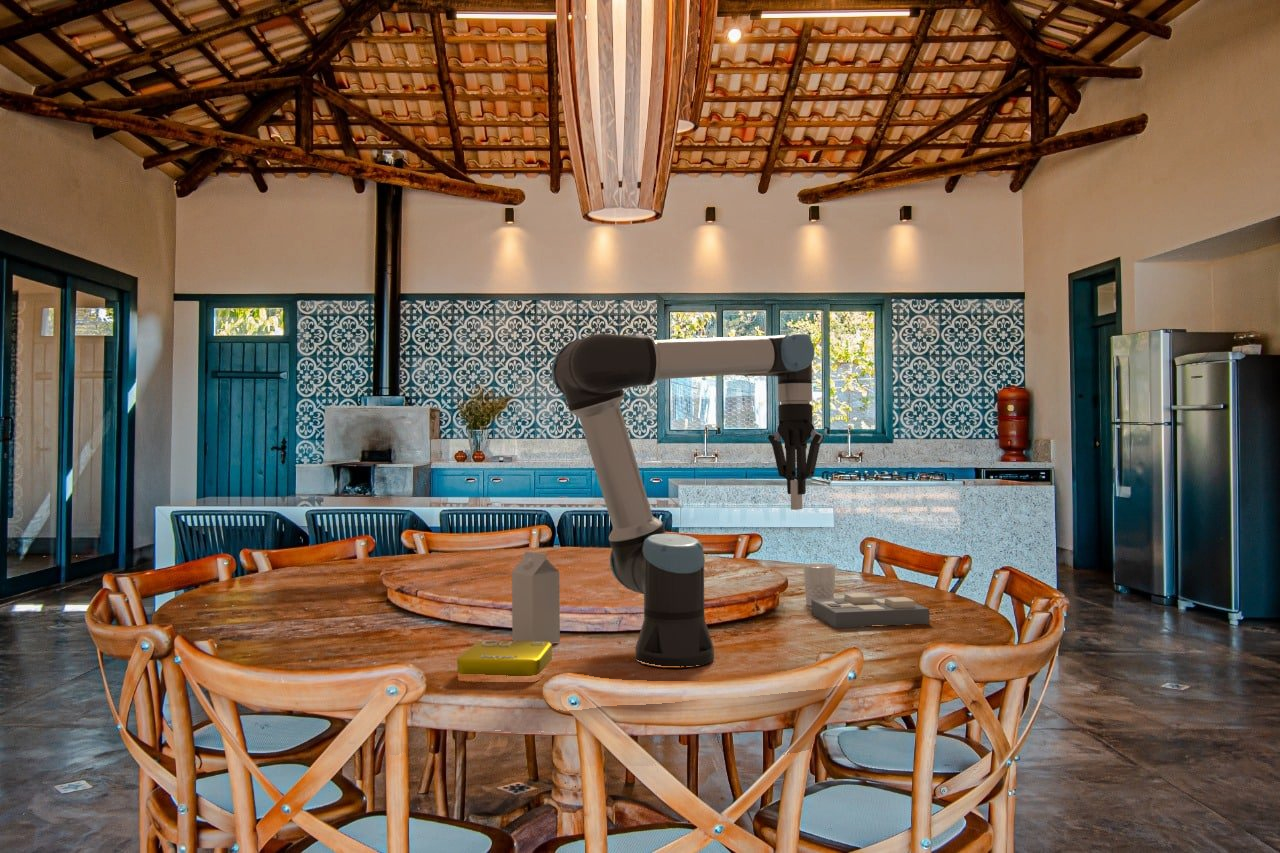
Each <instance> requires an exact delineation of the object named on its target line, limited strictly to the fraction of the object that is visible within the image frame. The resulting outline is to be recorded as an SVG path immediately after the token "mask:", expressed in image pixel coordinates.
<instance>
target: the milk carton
mask: <svg viewBox="0 0 1280 853" xmlns="http://www.w3.org/2000/svg"><path fill="white" fill-rule="evenodd" d="M560 604H561V603H560V571H559V570H558V568H556V567H555V566H554V564H552V563H551V562H550V561H549V560H548V559H547V553H543V552H534V551H527V550H525V551H524V556H523V558H522V559H521V560H520V562H518V564H517V565H516V566H515V567H514V569H513V570H512V571H511V609H512V610H511V611H512V612H511V614H512V615H511V616H512V617H511V622H512V626H511V627H512V630H511V631H512V632H511V633H512V639H511V641H512V640H513V641H544V642H550V643H553V642H560V643H561V633H560V632H561V631H560V630H561V626H560V625H561V622H560V620H561V619H560V618H561V613H560V612H561V611H560V609H561V608H560V607H561V606H560Z"/></svg>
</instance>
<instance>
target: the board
mask: <svg viewBox="0 0 1280 853" xmlns="http://www.w3.org/2000/svg"><path fill="white" fill-rule="evenodd" d="M892 597H900V596H899V595H898V596H896V595H895V596H894V595H892V596H873V599H883V598H892ZM811 605H812V606H811V615H812V616H814V617H815V618H817V619H819V620H821V621H823V622H825V623H826V624H828V625H829V626H831V627H833V628H834V629H849V627H857V628H862V627H861V626H872V625H903V626H906V625H905V624H926V625H930V608H929V607H926V606H923V605H921V604H918V603H916V602H915V608H897V609H893V608H891V607H888V606H886V605H885V603H879V602H877V601H875V600H873V603H867V604H851V603H848V602H846V601H845V599H844V598H843V597H842V598H834V599H814V600H811ZM856 605H878V606H881V607H883V608H885V609H873V610H863V609H861V608H859V607H857V606H856Z"/></svg>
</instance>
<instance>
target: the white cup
mask: <svg viewBox="0 0 1280 853" xmlns="http://www.w3.org/2000/svg"><path fill="white" fill-rule="evenodd" d="M803 578H804V579H803V581H804V594H805V603H806V605H807V606H809V607H812V605H811V600H814V599H835V598H834V597H835V586H836V581H835V580H836V565H835V564H832V563H826V562H821V563H820V562H815V563H814V562H812V563H805V564H803Z"/></svg>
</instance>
